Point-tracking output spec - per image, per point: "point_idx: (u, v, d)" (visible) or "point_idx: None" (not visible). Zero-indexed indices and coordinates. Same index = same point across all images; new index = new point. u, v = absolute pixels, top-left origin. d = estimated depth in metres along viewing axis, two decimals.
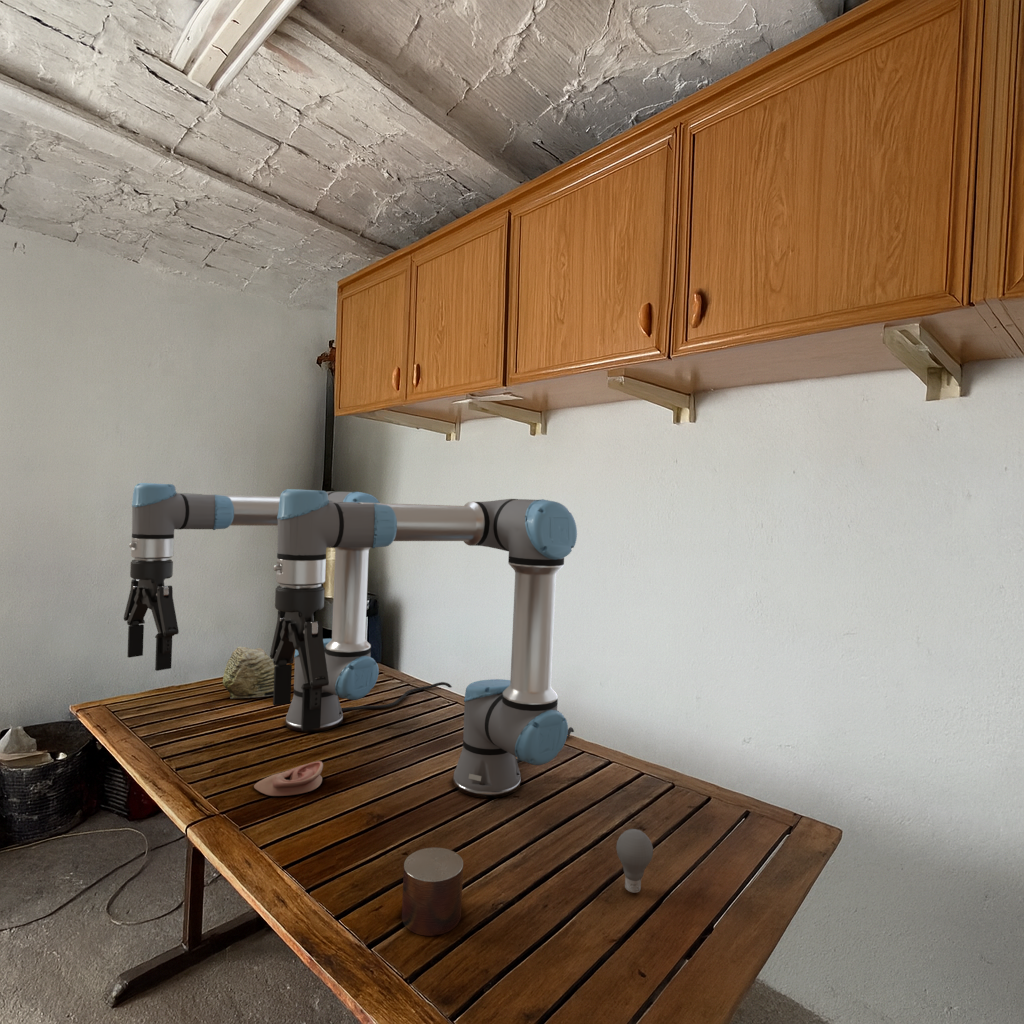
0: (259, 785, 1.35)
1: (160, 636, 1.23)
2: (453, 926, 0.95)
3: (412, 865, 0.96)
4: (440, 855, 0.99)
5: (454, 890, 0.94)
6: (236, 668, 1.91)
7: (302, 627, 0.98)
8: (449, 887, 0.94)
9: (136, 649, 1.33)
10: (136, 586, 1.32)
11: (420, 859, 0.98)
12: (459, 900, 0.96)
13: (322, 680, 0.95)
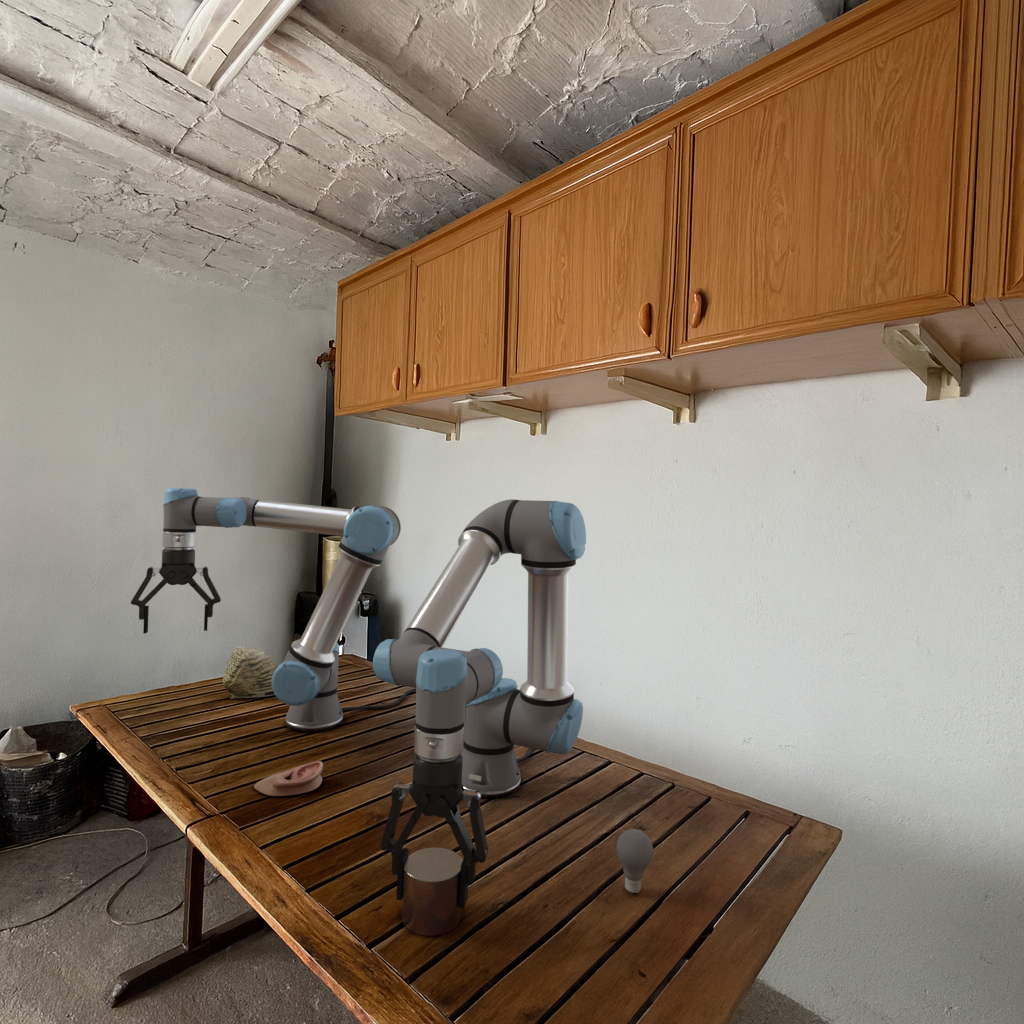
0: (259, 785, 1.35)
1: (212, 604, 1.64)
2: (453, 926, 0.95)
3: (412, 865, 0.96)
4: (440, 855, 0.99)
5: (454, 890, 0.94)
6: (236, 668, 1.91)
7: (460, 799, 0.96)
8: (449, 887, 0.94)
9: (147, 626, 1.60)
10: (153, 573, 1.59)
11: (420, 859, 0.98)
12: None
13: (487, 852, 0.96)
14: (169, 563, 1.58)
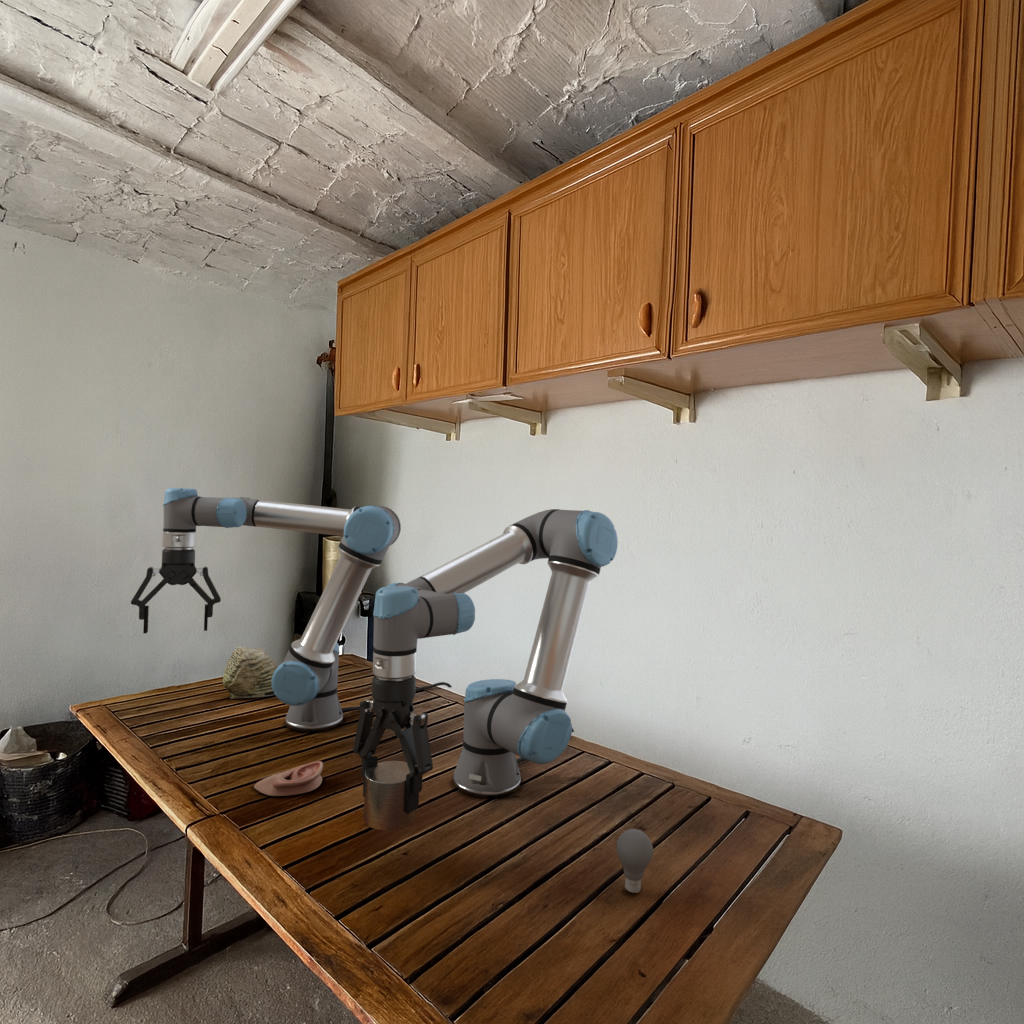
0: (259, 785, 1.35)
1: (212, 604, 1.64)
2: (398, 827, 1.08)
3: (373, 769, 1.12)
4: (402, 767, 1.13)
5: (398, 795, 1.07)
6: (236, 668, 1.91)
7: (407, 716, 1.08)
8: (393, 791, 1.07)
9: (147, 626, 1.60)
10: (153, 573, 1.59)
11: (383, 767, 1.13)
12: None
13: (429, 767, 1.07)
14: (169, 563, 1.58)
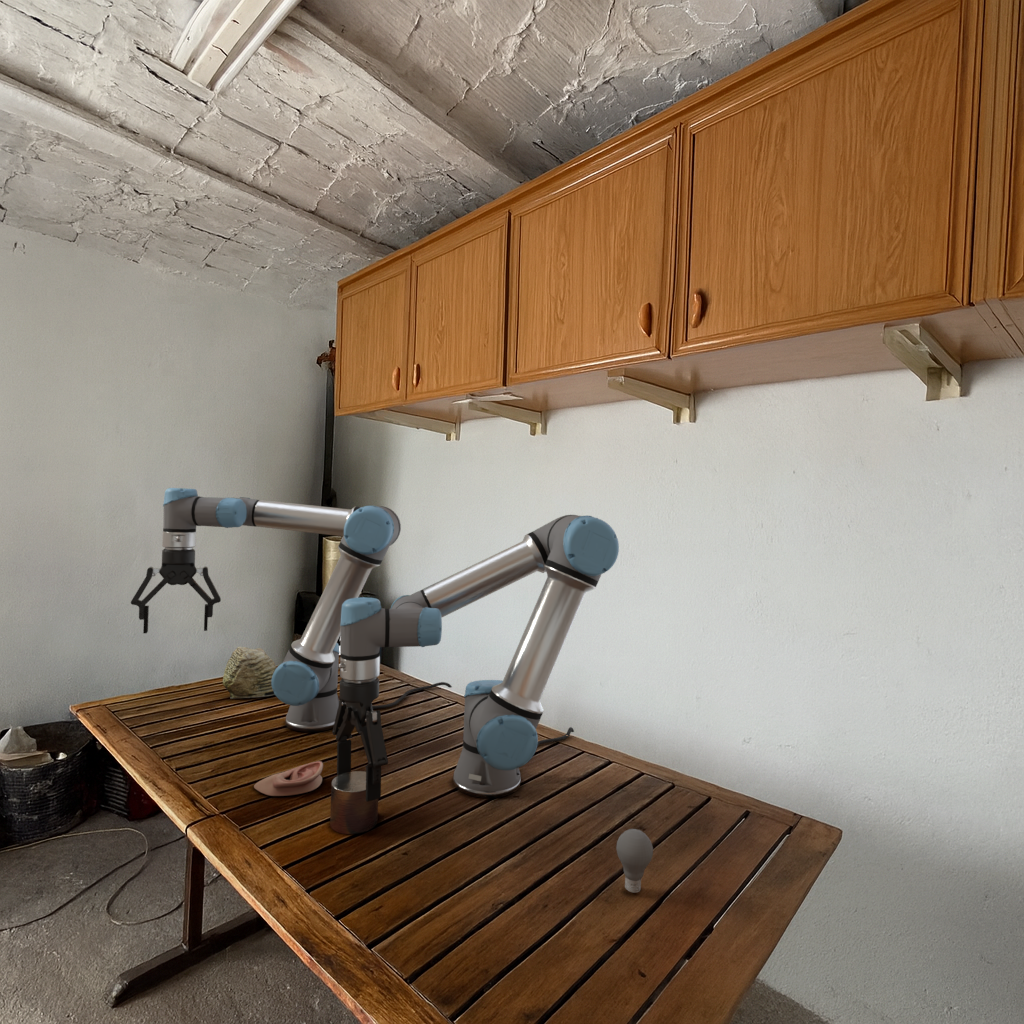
0: (259, 785, 1.35)
1: (212, 604, 1.64)
2: (351, 832, 1.20)
3: (343, 776, 1.26)
4: None
5: (352, 803, 1.19)
6: (236, 668, 1.91)
7: (363, 715, 1.20)
8: (347, 798, 1.19)
9: (147, 626, 1.60)
10: (153, 573, 1.59)
11: (353, 776, 1.26)
12: (360, 815, 1.20)
13: (383, 761, 1.16)
14: (169, 563, 1.58)
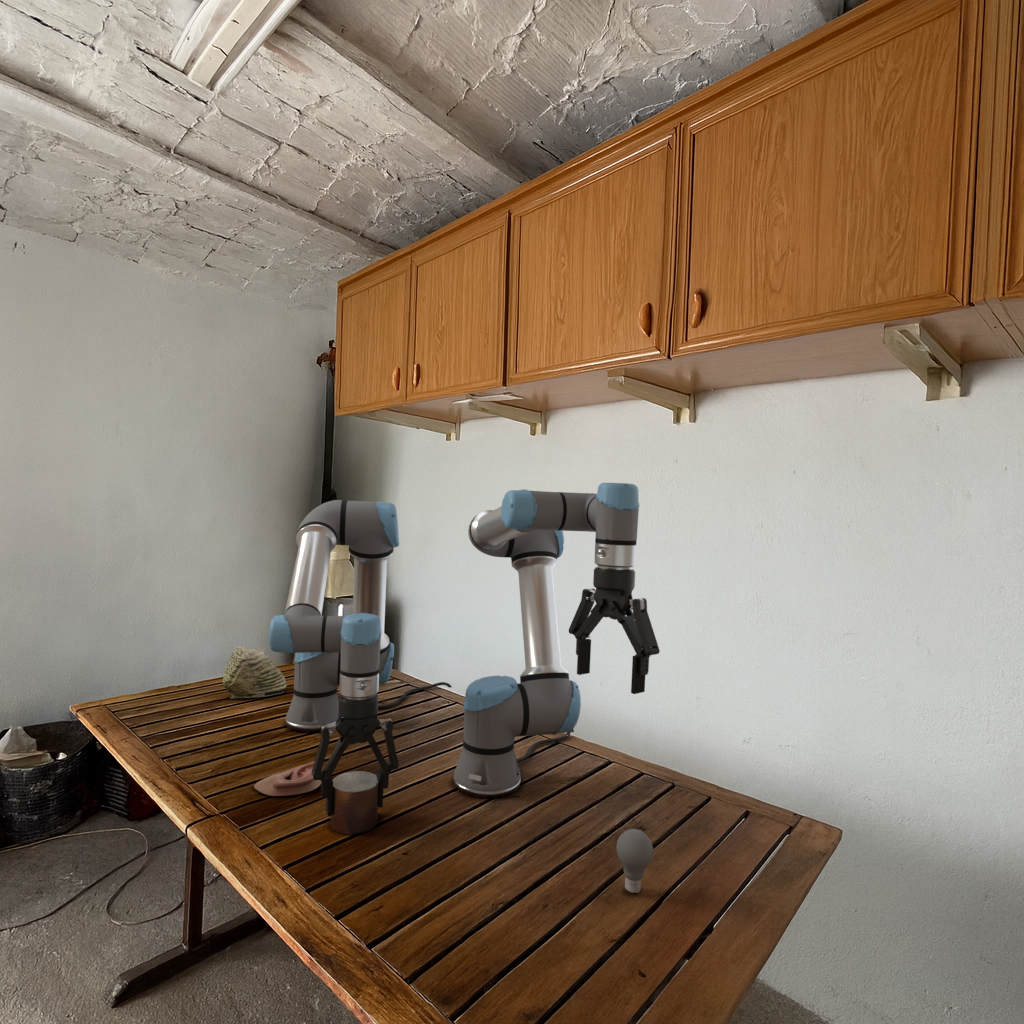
0: (259, 785, 1.35)
1: None
2: (351, 832, 1.20)
3: (343, 776, 1.26)
4: (367, 779, 1.25)
5: (352, 803, 1.19)
6: (236, 668, 1.91)
7: (626, 604, 1.12)
8: (347, 798, 1.19)
9: None
10: (330, 733, 1.21)
11: (353, 776, 1.26)
12: (360, 815, 1.20)
13: (655, 649, 1.08)
14: (351, 718, 1.20)
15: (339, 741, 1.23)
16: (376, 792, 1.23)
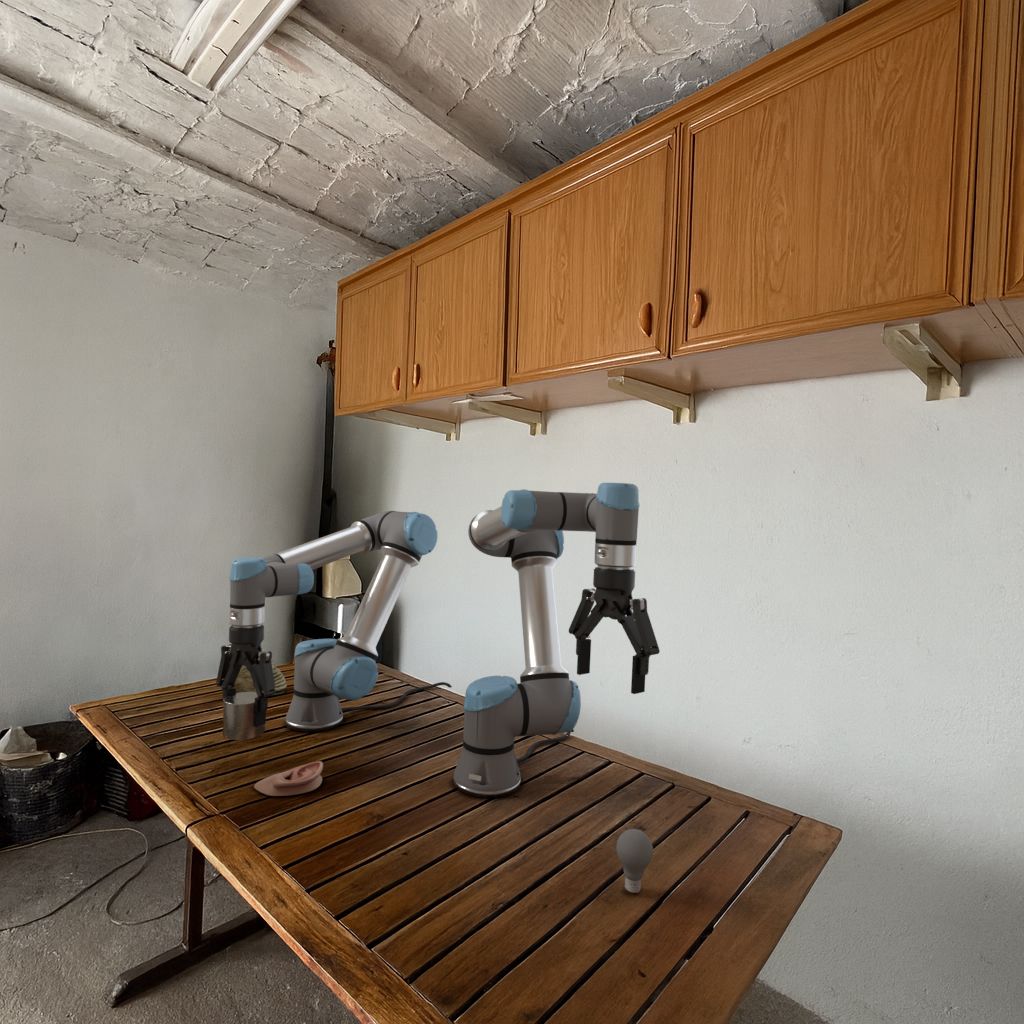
0: (259, 785, 1.35)
1: (260, 698, 1.43)
2: (224, 736, 1.44)
3: (248, 693, 1.50)
4: (252, 699, 1.46)
5: (225, 711, 1.44)
6: None
7: (626, 604, 1.12)
8: (223, 706, 1.44)
9: None
10: (227, 651, 1.48)
11: (252, 695, 1.49)
12: (229, 723, 1.43)
13: (655, 649, 1.08)
14: (229, 641, 1.45)
15: None
16: (246, 710, 1.43)
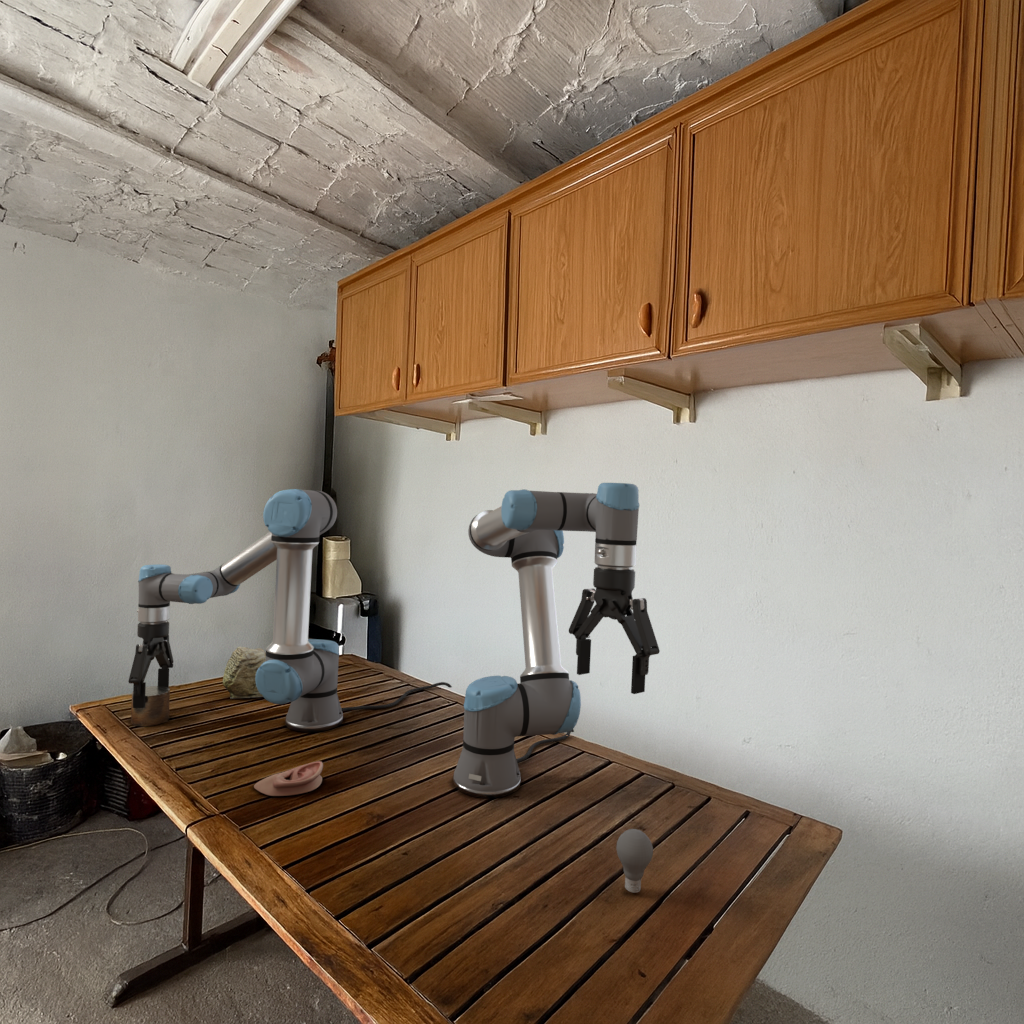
0: (259, 785, 1.35)
1: None
2: None
3: (164, 688, 1.75)
4: (147, 693, 1.70)
5: None
6: (236, 668, 1.91)
7: (626, 604, 1.12)
8: None
9: None
10: None
11: (159, 690, 1.73)
12: None
13: (655, 649, 1.08)
14: None
15: None
16: None
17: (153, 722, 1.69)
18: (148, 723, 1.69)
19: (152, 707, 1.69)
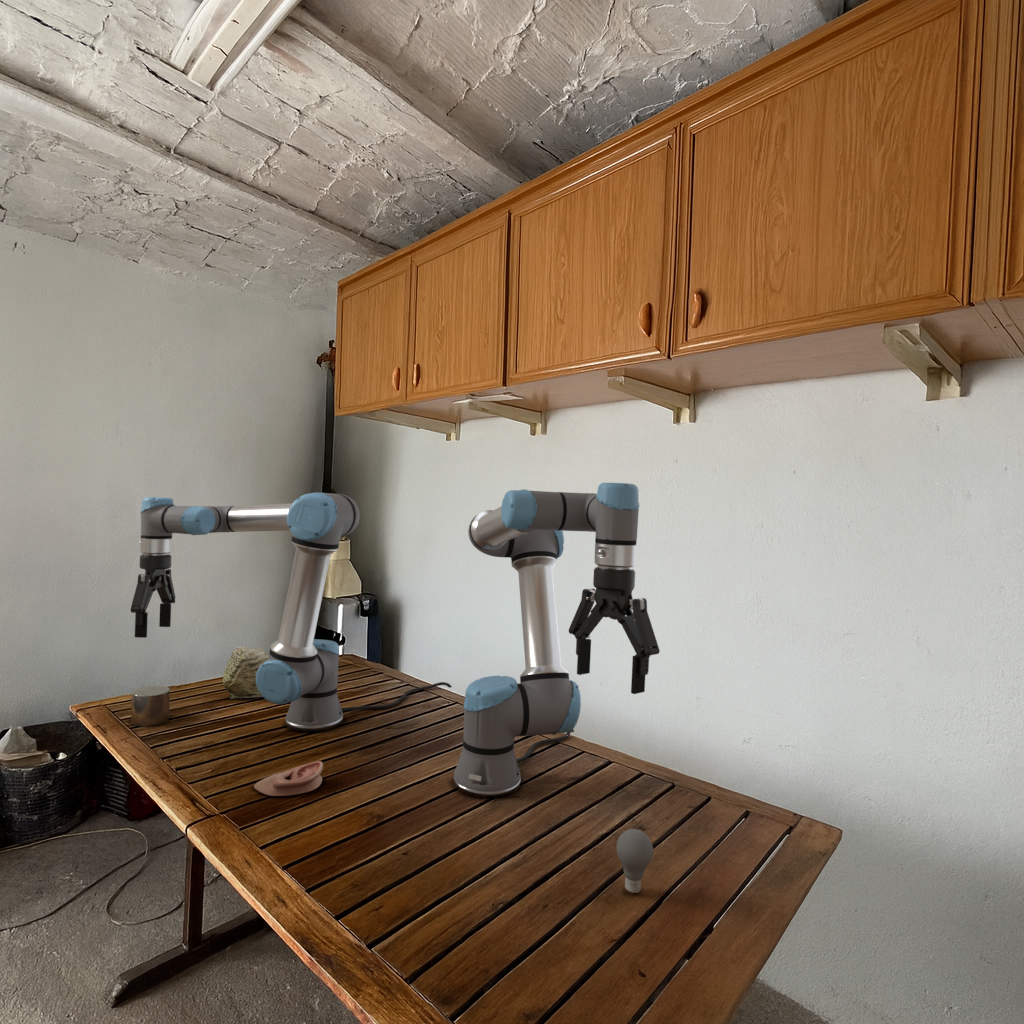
0: (259, 785, 1.35)
1: (133, 611, 1.64)
2: None
3: (164, 688, 1.75)
4: (147, 693, 1.70)
5: None
6: (236, 668, 1.91)
7: (626, 604, 1.12)
8: None
9: (164, 621, 1.79)
10: None
11: (159, 690, 1.73)
12: None
13: (655, 649, 1.08)
14: None
15: None
16: (133, 700, 1.69)
17: (153, 722, 1.69)
18: (148, 723, 1.69)
19: (152, 707, 1.69)
